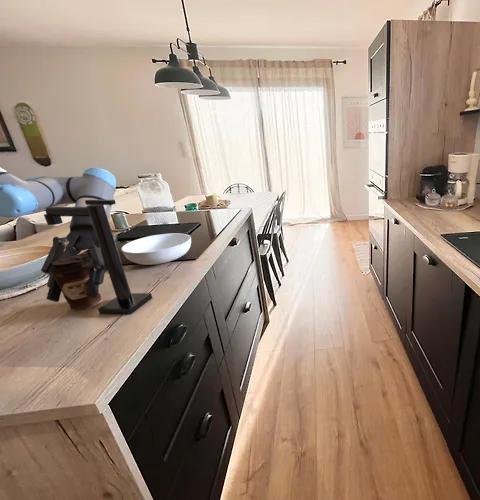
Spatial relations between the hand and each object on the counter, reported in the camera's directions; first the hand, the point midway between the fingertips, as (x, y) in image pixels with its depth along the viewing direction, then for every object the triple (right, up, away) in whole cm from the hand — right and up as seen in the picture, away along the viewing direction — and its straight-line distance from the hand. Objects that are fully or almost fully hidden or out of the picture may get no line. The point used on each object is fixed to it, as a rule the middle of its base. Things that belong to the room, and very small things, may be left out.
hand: (72, 298), depth 70 cm
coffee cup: (-1, -3, +5) cm, 6 cm away
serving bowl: (0, +8, +34) cm, 35 cm away
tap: (+6, -3, +4) cm, 8 cm away
